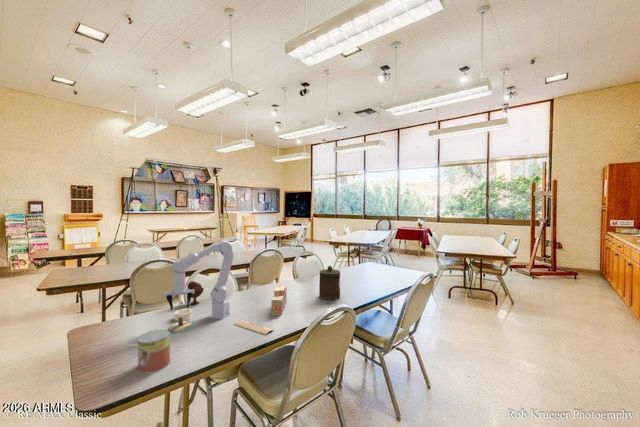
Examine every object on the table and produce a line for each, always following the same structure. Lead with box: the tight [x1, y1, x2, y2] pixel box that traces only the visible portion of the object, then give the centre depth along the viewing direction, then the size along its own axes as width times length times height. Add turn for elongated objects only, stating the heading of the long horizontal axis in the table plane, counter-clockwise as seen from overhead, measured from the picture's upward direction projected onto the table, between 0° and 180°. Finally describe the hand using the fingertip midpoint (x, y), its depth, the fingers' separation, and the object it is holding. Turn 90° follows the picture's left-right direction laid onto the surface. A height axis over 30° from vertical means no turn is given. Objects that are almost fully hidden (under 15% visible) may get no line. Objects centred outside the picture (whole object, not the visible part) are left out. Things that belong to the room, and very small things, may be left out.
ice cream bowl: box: [186, 281, 205, 306], centre depth 188 cm, size 11×11×15 cm
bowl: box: [174, 308, 194, 322], centre depth 162 cm, size 9×9×4 cm
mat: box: [166, 321, 195, 334], centre depth 150 cm, size 12×12×1 cm
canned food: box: [137, 329, 171, 374], centre depth 116 cm, size 11×11×12 cm
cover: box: [168, 317, 192, 333], centre depth 150 cm, size 11×11×5 cm
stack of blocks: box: [270, 284, 288, 316], centre depth 178 cm, size 21×6×12 cm, turn 179°
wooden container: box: [318, 265, 341, 301], centre depth 203 cm, size 15×15×22 cm
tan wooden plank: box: [233, 319, 275, 336], centre depth 151 cm, size 24×7×2 cm, turn 57°
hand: (179, 308), depth 153 cm, fingers open, 7 cm apart
